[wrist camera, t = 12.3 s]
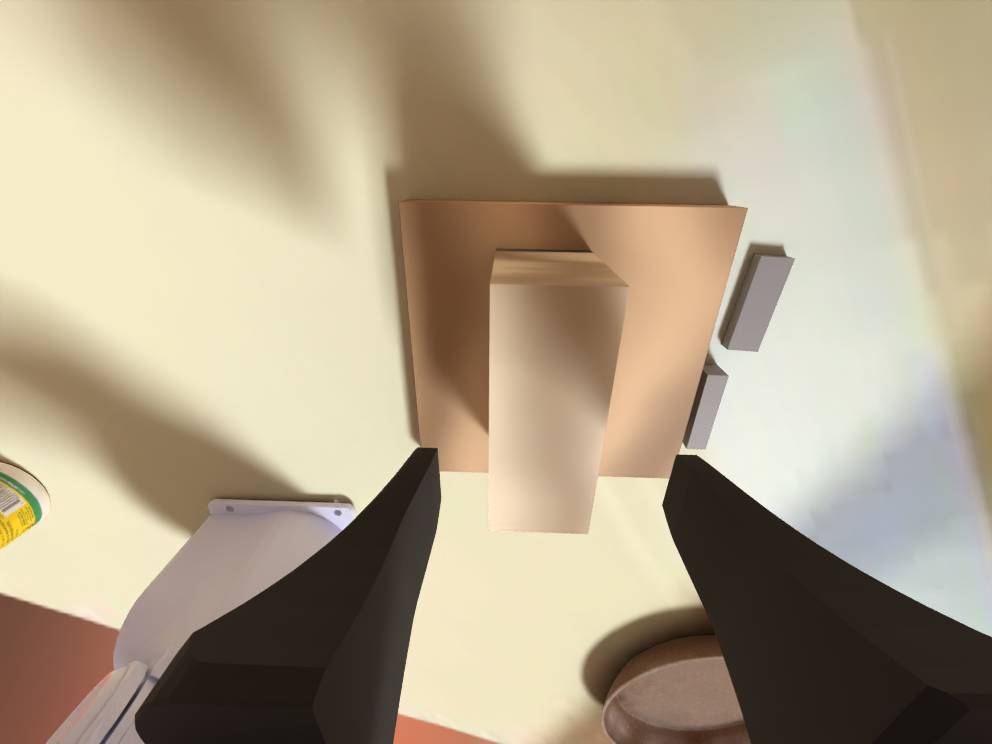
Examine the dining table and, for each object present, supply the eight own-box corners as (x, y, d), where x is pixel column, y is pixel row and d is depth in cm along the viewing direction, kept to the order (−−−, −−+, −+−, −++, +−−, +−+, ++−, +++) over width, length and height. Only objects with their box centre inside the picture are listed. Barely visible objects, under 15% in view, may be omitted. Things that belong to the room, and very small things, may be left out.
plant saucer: (570, 714, 38) (574, 756, 35) (637, 600, 30) (650, 643, 27) (743, 739, 39) (761, 782, 36) (852, 636, 31) (885, 681, 28)
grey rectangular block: (757, 351, 19) (746, 343, 20) (794, 258, 17) (780, 254, 18) (727, 349, 19) (717, 341, 20) (761, 256, 17) (748, 252, 18)
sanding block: (493, 440, 21) (488, 530, 16) (496, 248, 17) (489, 283, 11) (568, 442, 21) (588, 533, 16) (591, 250, 17) (629, 286, 11)
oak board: (427, 453, 24) (422, 470, 22) (407, 199, 17) (398, 202, 16) (662, 460, 23) (672, 478, 22) (728, 205, 17) (748, 207, 16)
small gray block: (686, 448, 21) (705, 449, 21) (708, 375, 19) (728, 375, 19) (676, 432, 23) (693, 433, 23) (695, 362, 21) (714, 362, 21)
